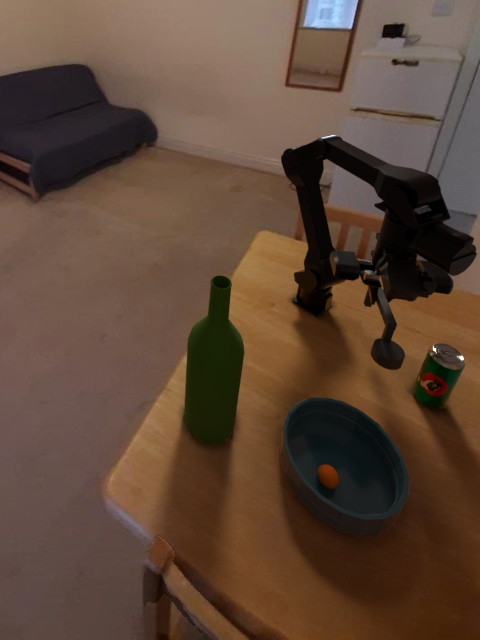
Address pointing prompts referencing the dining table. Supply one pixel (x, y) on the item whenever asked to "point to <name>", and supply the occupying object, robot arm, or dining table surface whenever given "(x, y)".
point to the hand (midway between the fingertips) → (377, 304)
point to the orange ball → (328, 476)
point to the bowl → (343, 466)
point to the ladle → (386, 336)
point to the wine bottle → (213, 369)
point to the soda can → (438, 375)
